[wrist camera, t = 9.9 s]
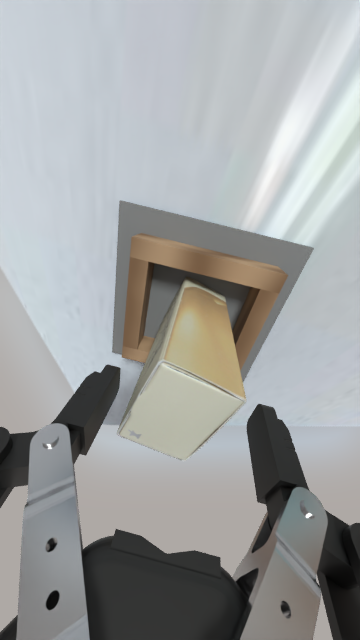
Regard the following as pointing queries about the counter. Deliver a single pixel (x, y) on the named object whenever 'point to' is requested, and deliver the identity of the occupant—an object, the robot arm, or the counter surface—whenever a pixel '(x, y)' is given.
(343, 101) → the counter surface
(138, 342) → the collar
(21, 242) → the counter surface
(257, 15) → the counter surface
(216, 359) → the skincare box
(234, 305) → the mat
